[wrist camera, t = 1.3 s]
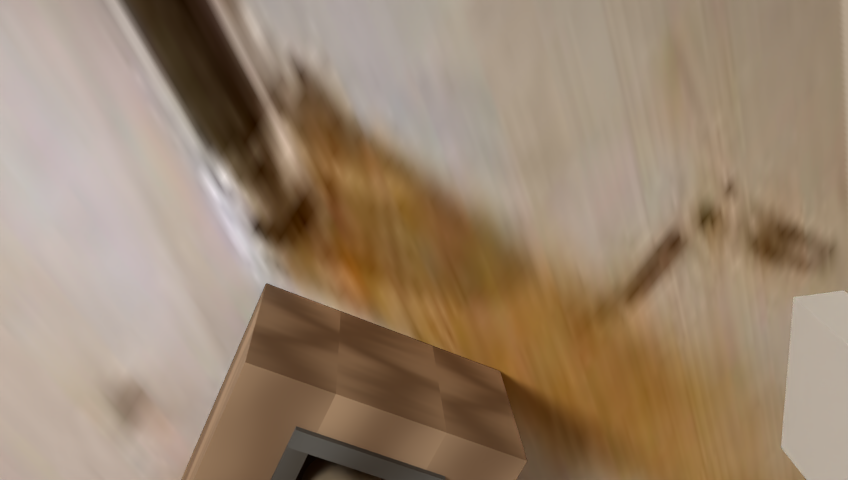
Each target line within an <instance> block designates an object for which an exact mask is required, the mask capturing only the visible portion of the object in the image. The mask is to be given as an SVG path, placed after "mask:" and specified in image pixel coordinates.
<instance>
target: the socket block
mask: <svg viewBox="0 0 848 480" xmlns="http://www.w3.org/2000/svg"><path fill="white" fill-rule="evenodd" d="M317 458H322V459H325V460H328V461H331V462H334V463H337V464H340V465H343V466H346V467H349V468H352V469H355V470H358V471H361V472H364V473H367V474H370V475H373V476H376V477H379V478H381V479H382V480H516V479H517V477H518V476H519V474H520V472H521V471H522V469H523V467H524V466H525V464H526V462H527V458H526V455H525V452H524V448H523V445H522V442H521V439H520V435H519V432H518V429H517V425H516V422H515V419H514V416H513V412H512V409H511V406H510V402H509V399H508V396H507V393H506V389H505V386H504V383H503V379H502V376H501V373H500V371H498V370H495V369H493V368H490V367H487V366H485V365H482V364H479V363H477V362H474V361H471V360H469V359H466V358H463V357H461V356H458V355H455V354H453V353H450V352H447V351H445V350H442V349H439V348H437V347H434V346H431V345H429V344H426V343H423V342H421V341H418V340H415V339H413V338H410V337H407V336H405V335H402V334H399V333H397V332H394V331H391V330H389V329H386V328H383V327H381V326H378V325H375V324H373V323H370V322H367V321H365V320H362V319H359V318H357V317H354V316H351V315H349V314H346V313H343V312H341V311H338V310H335V309H333V308H330V307H327V306H325V305H322V304H319V303H317V302H314V301H311V300H309V299H306V298H303V297H301V296H298V295H295V294H293V293H290V292H287V291H285V290H282V289H279V288H277V287H274V286H271V285H269V284H266V285H265V287H264V289H263V292H262V294H261V296H260V299H259V301H258V303H257V306H256V308H255V310H254V313H253V315H252V317H251V320H250V322H249V324H248V326H247V329H246V331H245V333H244V336H243V338H242V340H241V343H240V345H239V347H238V350H237V352H236V354H235V357H234V359H233V361H232V364H231V366H230V368H229V370H228V373H227V375H226V377H225V380H224V382H223V384H222V387H221V389H220V391H219V394H218V396H217V398H216V401H215V403H214V405H213V408H212V410H211V412H210V414H209V417H208V419H207V421H206V424H205V426H204V428H203V431H202V433H201V435H200V438H199V440H198V442H197V445H196V447H195V449H194V452H193V454H192V456H191V458H190V461H189V463H188V465H187V468H186V470H185V472H184V475H183V477H182V479H181V480H302V477H303V474H304V472H305V470H306V468H307V467H308V466H309V465H310V464H311V463H312V462H313V461H314V460H315V459H317Z"/></svg>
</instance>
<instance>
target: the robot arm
mask: <svg viewBox="0 0 848 480" xmlns="http://www.w3.org/2000/svg"><path fill="white" fill-rule="evenodd" d="M781 448H782V449H783V451H784V452H785V453H786V455H787V456H788V457H789V458H790V460H791V461H792V462H793V463H794V465H795V466H796V467H797V468H798V470H799V471H800V472H801V473H802V475H803V476H804V477H805V479H806V480H848V293H847V292H845V291H844V290H842V291H835V292H827V293H820V294H813V295H805V296H798V297H793V309H792V321H791V333H790V345H789V357H788V369H787V381H786V393H785V405H784V417H783V429H782V442H781Z"/></svg>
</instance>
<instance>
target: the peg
mask: <svg viewBox="0 0 848 480" xmlns="http://www.w3.org/2000/svg"><path fill="white" fill-rule="evenodd" d="M302 480H382V479H381V478H379V477H376V476H373V475H370V474H367V473H364V472H361V471H358V470H355V469H352V468H349V467H346V466H343V465H340V464H337V463H334V462H331V461H328V460H325V459H322V458H317V459H315V460H314V461H313V462H312V463H311V464H310V465H309V466H308V467H307V468H306V470H305V472H304V474H303V477H302Z"/></svg>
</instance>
